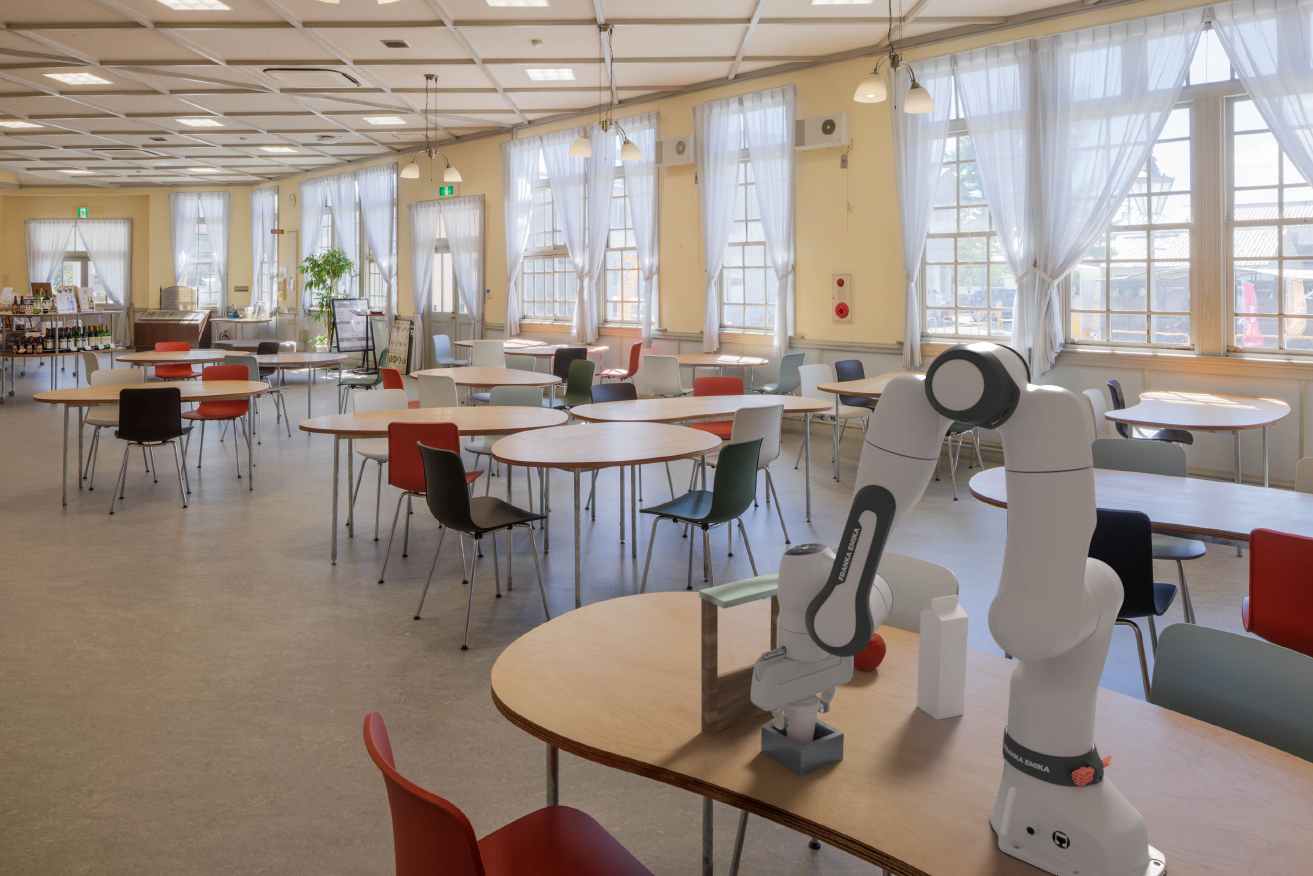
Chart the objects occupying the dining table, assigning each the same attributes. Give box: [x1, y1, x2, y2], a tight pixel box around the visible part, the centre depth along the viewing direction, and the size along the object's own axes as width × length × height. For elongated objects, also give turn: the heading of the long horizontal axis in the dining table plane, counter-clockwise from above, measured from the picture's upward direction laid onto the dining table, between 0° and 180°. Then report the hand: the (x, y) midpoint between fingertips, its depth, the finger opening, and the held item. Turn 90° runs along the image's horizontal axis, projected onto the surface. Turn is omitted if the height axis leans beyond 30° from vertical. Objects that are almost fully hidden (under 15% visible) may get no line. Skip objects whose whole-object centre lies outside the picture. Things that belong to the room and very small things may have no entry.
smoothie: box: [783, 694, 820, 746], centre depth 145 cm, size 6×6×14 cm
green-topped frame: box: [698, 570, 780, 737], centre depth 154 cm, size 7×19×26 cm, turn 124°
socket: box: [760, 717, 845, 777], centre depth 145 cm, size 10×10×4 cm
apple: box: [854, 632, 887, 672], centre depth 179 cm, size 8×8×8 cm
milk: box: [916, 594, 969, 721], centre depth 159 cm, size 6×6×22 cm
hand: (802, 719), depth 145 cm, fingers open, 8 cm apart
